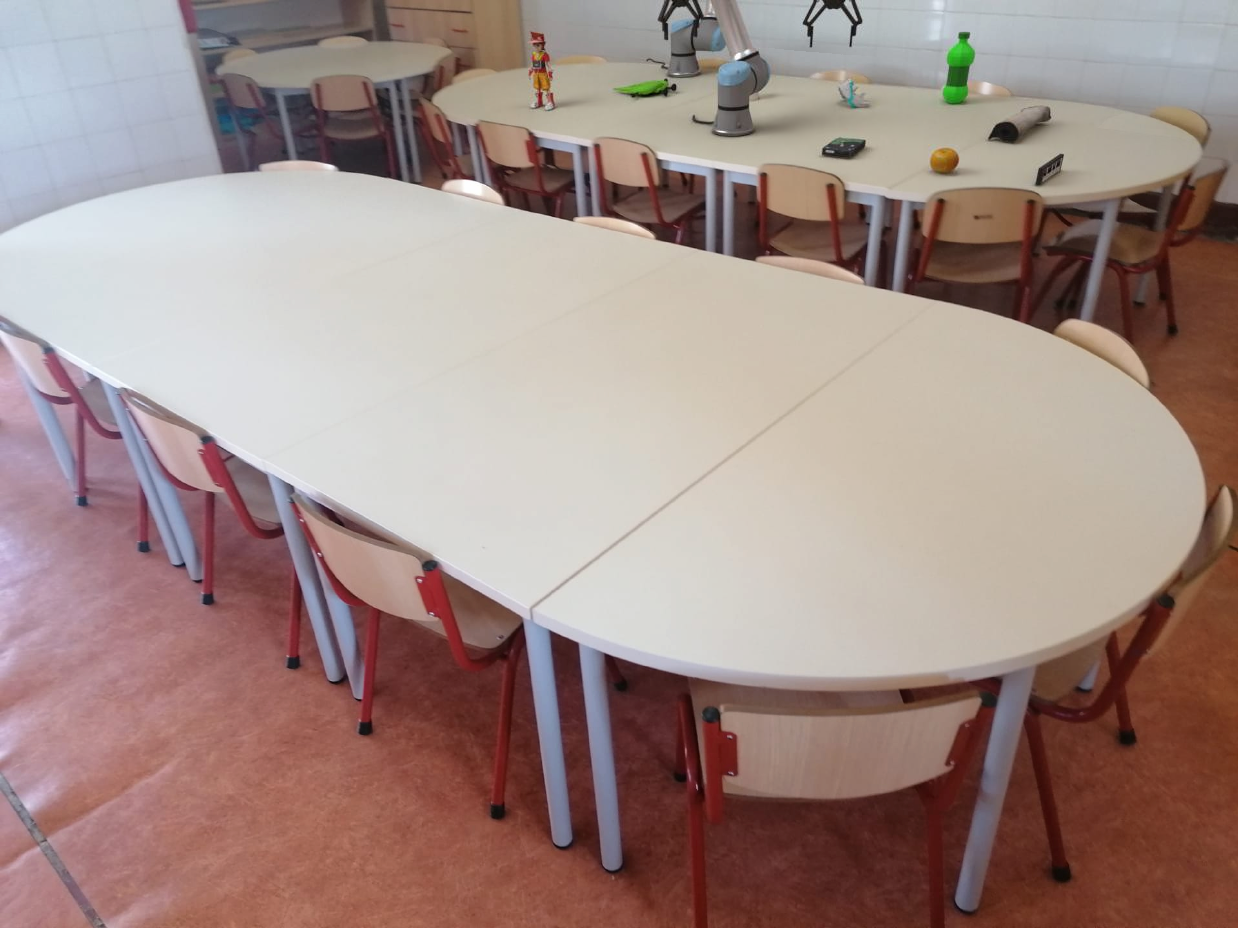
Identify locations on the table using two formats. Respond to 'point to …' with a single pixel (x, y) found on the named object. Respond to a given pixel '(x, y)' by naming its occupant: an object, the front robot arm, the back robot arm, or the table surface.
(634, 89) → the toy
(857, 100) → the anatomical model
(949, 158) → the fruit
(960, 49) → the plastic bottle
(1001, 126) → the rolled mat
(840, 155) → the disk drive
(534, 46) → the toy
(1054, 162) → the midi keyboard
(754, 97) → the can
